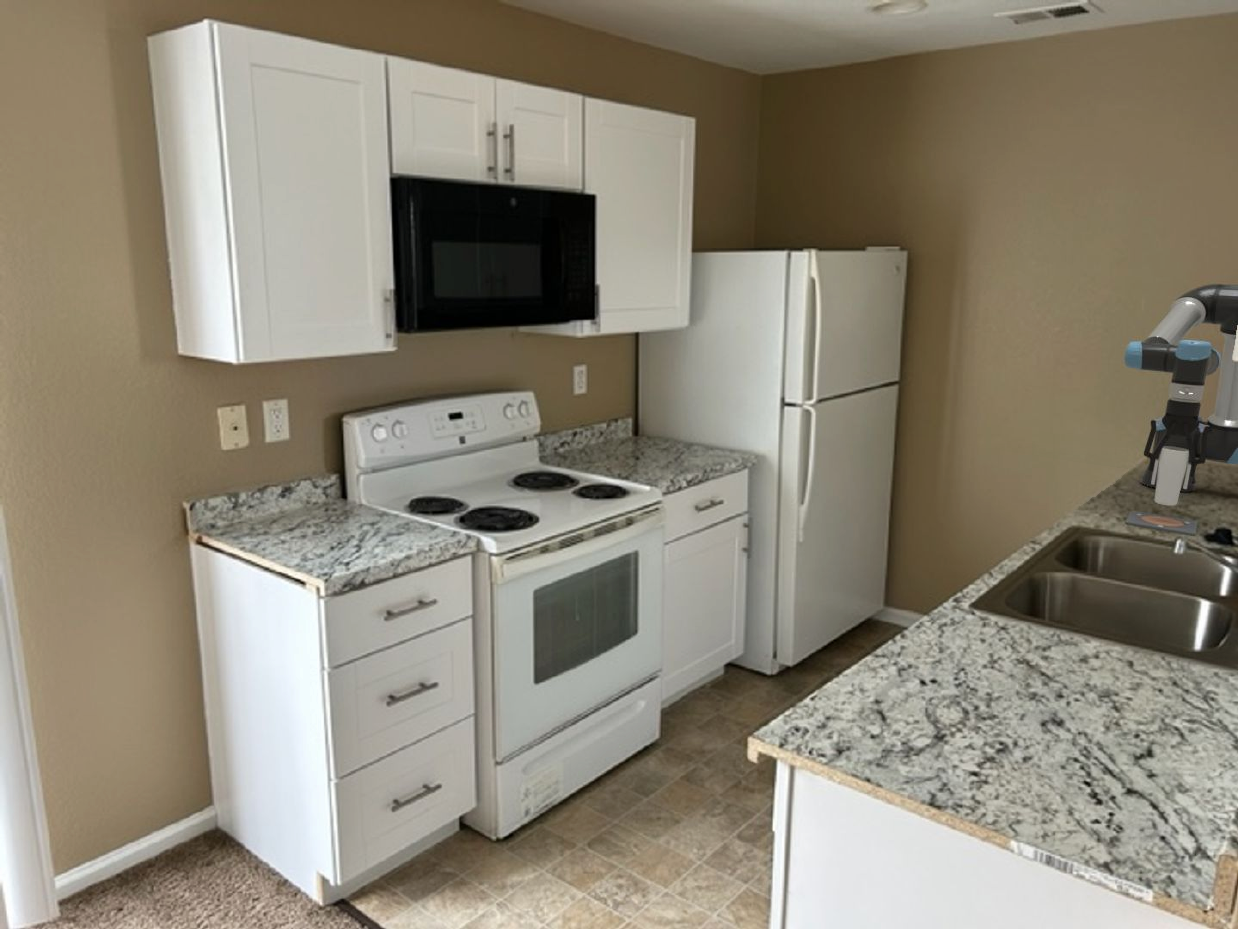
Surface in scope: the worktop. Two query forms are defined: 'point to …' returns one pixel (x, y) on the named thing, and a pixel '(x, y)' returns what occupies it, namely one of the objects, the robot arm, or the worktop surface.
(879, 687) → the worktop surface
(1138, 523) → the coaster mat
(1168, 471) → the drinking glass
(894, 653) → the worktop surface
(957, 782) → the worktop surface
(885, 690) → the worktop surface
